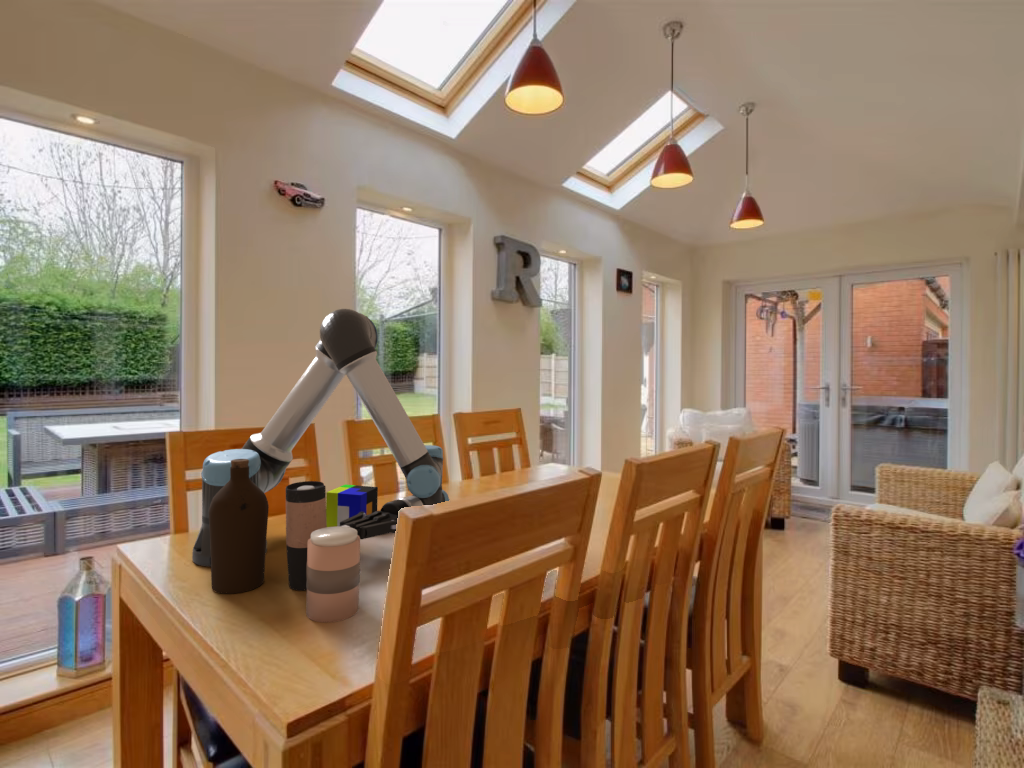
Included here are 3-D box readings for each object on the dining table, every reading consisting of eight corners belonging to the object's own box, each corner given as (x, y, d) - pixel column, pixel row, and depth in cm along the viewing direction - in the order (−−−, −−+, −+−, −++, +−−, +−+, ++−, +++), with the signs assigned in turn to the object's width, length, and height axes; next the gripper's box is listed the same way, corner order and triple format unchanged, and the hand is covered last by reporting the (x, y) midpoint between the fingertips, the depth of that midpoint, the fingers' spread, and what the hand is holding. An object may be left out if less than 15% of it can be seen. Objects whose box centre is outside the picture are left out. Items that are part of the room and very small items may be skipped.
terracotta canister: (298, 622, 93) (300, 541, 93) (314, 599, 102) (315, 525, 102) (353, 622, 94) (354, 541, 93) (363, 599, 103) (365, 525, 103)
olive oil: (279, 580, 111) (281, 458, 110) (233, 600, 101) (235, 467, 100) (242, 570, 115) (244, 453, 114) (195, 588, 105) (196, 461, 105)
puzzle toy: (360, 532, 143) (360, 495, 143) (325, 529, 145) (326, 492, 145) (376, 522, 153) (377, 487, 153) (344, 519, 155) (345, 484, 155)
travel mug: (278, 588, 107) (276, 488, 106) (304, 573, 114) (302, 479, 113) (311, 593, 105) (309, 492, 103) (335, 577, 112) (333, 482, 111)
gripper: (421, 534, 129) (345, 564, 109) (381, 524, 136) (302, 551, 116) (422, 503, 129) (345, 527, 109) (382, 495, 136) (302, 516, 116)
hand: (323, 539), depth 112 cm, fingers closed
